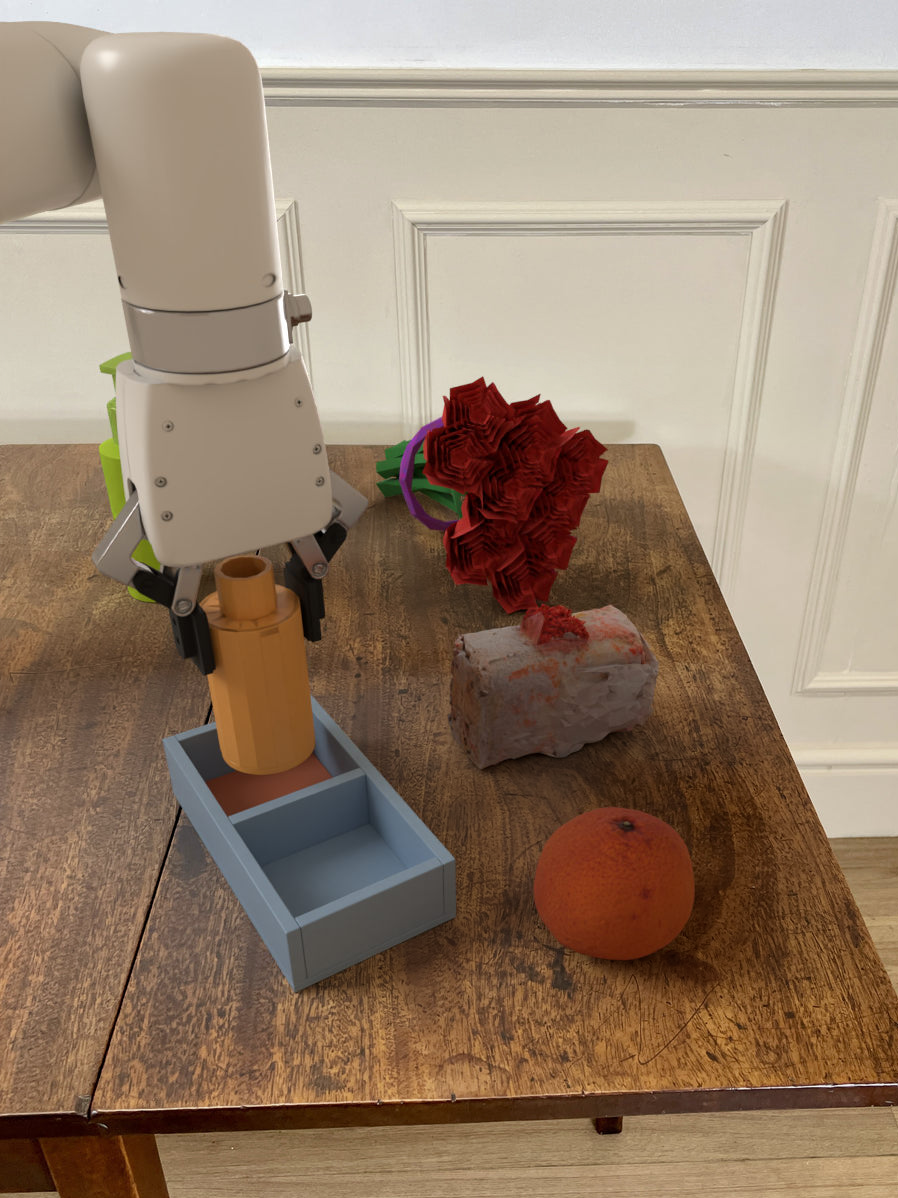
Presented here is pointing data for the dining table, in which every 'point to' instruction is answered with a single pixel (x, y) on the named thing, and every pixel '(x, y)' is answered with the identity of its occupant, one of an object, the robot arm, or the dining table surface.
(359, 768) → the tray
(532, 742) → the food item
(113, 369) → the soap dispenser
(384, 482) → the bouquet
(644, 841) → the fruit
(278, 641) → the bottle
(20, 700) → the dining table surface
